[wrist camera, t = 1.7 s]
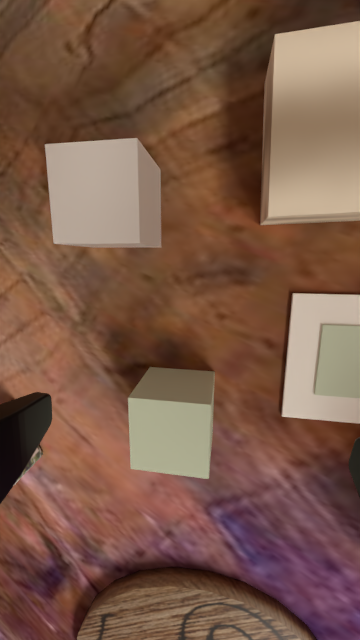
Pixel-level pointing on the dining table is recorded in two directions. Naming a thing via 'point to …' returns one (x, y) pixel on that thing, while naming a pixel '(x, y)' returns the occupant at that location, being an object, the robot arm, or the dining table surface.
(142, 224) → the grey block
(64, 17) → the dining table surface
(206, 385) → the sage block
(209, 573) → the trivet
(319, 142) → the birch base block
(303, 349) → the card
